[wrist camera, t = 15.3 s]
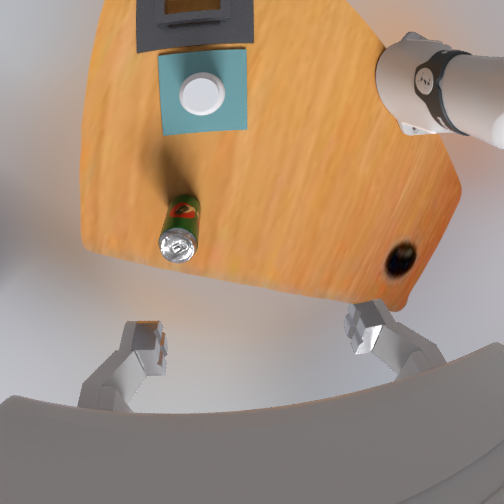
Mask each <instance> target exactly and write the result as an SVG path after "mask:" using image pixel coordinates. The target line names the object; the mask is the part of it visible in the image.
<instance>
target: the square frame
mask: <svg viewBox="0 0 504 504" xmlns="http://www.w3.org/2000/svg"><path fill="white" fill-rule="evenodd" d="M203 21H214V22H203ZM191 22H199V23H191ZM181 23H188V24H181ZM173 24H179V25H173ZM169 25H171V26H169ZM136 37H137V53H143V52H149V51H155V50H162V49H169V48H177V47H186V46H197V45H210V44H234V43H254V14H253V0H220V10H203V11H191V12H182V13H174V14H167V0H137V9H136Z"/></svg>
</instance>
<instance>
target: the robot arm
mask: <svg viewBox="0 0 504 504" xmlns="http://www.w3.org/2000/svg"><path fill="white" fill-rule="evenodd" d="M376 85H377V90H378V93H379V96H380V98H381V100H382V102H383V104H384V105H385V107H386V108H387V109H388V111H389V112H390V113H391V114H392V115H393V116H394V117H395V118H396V119H397V121H398V124H399V126H400V129H401V131H402V132H403V133H404V134H406V135H419V134H436V133H449V132H454V133H456V134H460V135H465V136H470V135H471V136H473V137H476V138H478V139H480V140H482V141H485V142H487V143H489V144H491V145H493V146H495V147H497V148H499V149H503V150H504V57H488V56H474V55H471V54H470V53H467V52H464V51H460V50H452V49H451V47H450V46H448V45H443V44H442V42H440V41H434V40H427V39H426V38H424V37H422V36H421V35H419V34H417V33H415V32H408V33H407V34H406V35H405V36H404V37H403V39H402V40H401V41H400V42H398V43H395V44H393V45H391V46H390V47H388V48H387V49H386V50H385V51H384V52H383V53H382V55H381V57H380V59H379V61H378V64H377V68H376ZM413 127H414V129H413ZM348 311H349V313H348V314H347V315H346V317H345V320H344V328H345V332H346V335H347V336H348V337H349V338H351V339H352V341H351V346H352V348H353V351H354V353H355V355H357V354H362V353H367V352H372V353H373V354H374V355H375V356H376V357H378V358H379V359H380V360H381V361H382V362H384V363H385V364H386V365H387V366H389V367H390V368H391V369H392V370H393V371H394V372H396V373H397V374H398V376H397V377H396V379H395V381H393V382H390V383H387V384H383V385H380V386H376V387H373V388H369V389H365V390H361V391H357V392H353V393H349V394H344V395H340V396H335V397H330V398H325V399H321V400H315V401H310V402H304V403H298V404H292V405H285V406H278V407H271V408H263V409H254V410H244V411H233V412H216V413H191V414H155V413H133V412H132V410H131V409H130V408H129V406H128V405H127V404H128V402H129V401H130V400H131V398H132V397H133V396H134V394H135V393H136V391H137V390H138V388H139V387H140V385H141V384H142V383H143V382H144V380H145V379H146V378H147V376H161V375H165V373H166V360H165V358H164V357H165V356H166V355H167V350H168V347H167V339H166V335H165V333H163V332H162V329H163V326H162V323H161V321H127V322H126V324H125V326H124V330H123V335H122V339H121V343H120V348H119V350H117V351H115V352H114V353H113V354H112V355H111V356H110V357H109V358H108V359H107V360H106V361H105V362H104V363H103V364H102V365H101V366H100V367H99V368H98V369H97V370H96V371H95V372H94V373H93V374H92V375H91V376H90V377H89V378H88V379H87V380H86V381H85V382H84V383H83V385H82V389H81V393H80V397H79V402H78V406H77V407H73V406H66V405H61V404H55V403H49V402H44V401H39V400H34V399H29V398H25V397H21V396H16V395H13V396H10V397H9V398H7V399H6V400H5V401H4V402H2V403H1V404H0V504H504V345H502V344H500V343H498V342H496V343H492V344H490V345H487V346H485V347H483V348H481V349H479V350H477V351H474V352H472V353H470V354H468V355H465V356H463V357H460V358H458V359H456V360H453V361H451V362H448V363H447V362H446V361H445V359H444V357H443V355H442V354H441V352H440V351H439V349H438V347H437V345H436V344H434V343H432V342H431V341H429V340H428V339H426V338H424V337H423V336H421V335H419V334H418V333H416V332H414V331H413V330H411V329H409V328H408V327H406V326H404V325H403V324H401V323H399V322H395V320H394V319H393V317H392V315H391V314H390V312H389V310H388V309H387V307H386V306H385V304H384V302H383V301H382V299H380V298H378V299H372V300H366V301H360V302H354V303H350V304H349V306H348Z"/></svg>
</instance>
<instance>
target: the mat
mask: <svg viewBox="0 0 504 504" xmlns="http://www.w3.org/2000/svg"><path fill="white" fill-rule="evenodd" d="M158 64H159V85H160V101H161V114H162V126H163V136H166V135H175V134H185V133H196V132H209V131H225V130H247V61H246V49H236V50H212V51H198V52H187V53H178V54H170V55H162V56H158ZM199 72H207V73H211V74H213V75H215V76H216V77H218V78H219V79H220V80H221V81H222V83H223V85H224V87H225V98H224V101H223V103H222V105H221V106H220V107H219V108H218V109H217V110H216V111H214V112H213V113H211V114H208V115H194V114H192V113H190V112H188V111H187V110H185V109H184V108H183V106H182V105H181V103H180V100H179V91H180V87H181V85H182V83H183V82H184V81H185V80H186V79H187V78H188V77H189V76H191V75H193V74H196V73H199Z"/></svg>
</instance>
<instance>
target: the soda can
mask: <svg viewBox="0 0 504 504" xmlns="http://www.w3.org/2000/svg"><path fill="white" fill-rule="evenodd" d="M200 212H201V208H200V204H199V202H198V201H197V200H196V199H195V198H194V197H192V196H189V195H179V196H177V197H175V198H174V199H173V200H172V201H171V202H170V205H169V208H168V211H167V214H166V217H165V221H164V224H163V227H162V231H161V234H160V238H159V248H160V250H161V253H162V255H163V256H164V258H165V259H167V260H168V261H170V262H173V263H184V262H186V261H188V260H189V259H191V257H192V256H193V255H194V254H195V253H196V251H197V248H198V237H199V224H200Z"/></svg>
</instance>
